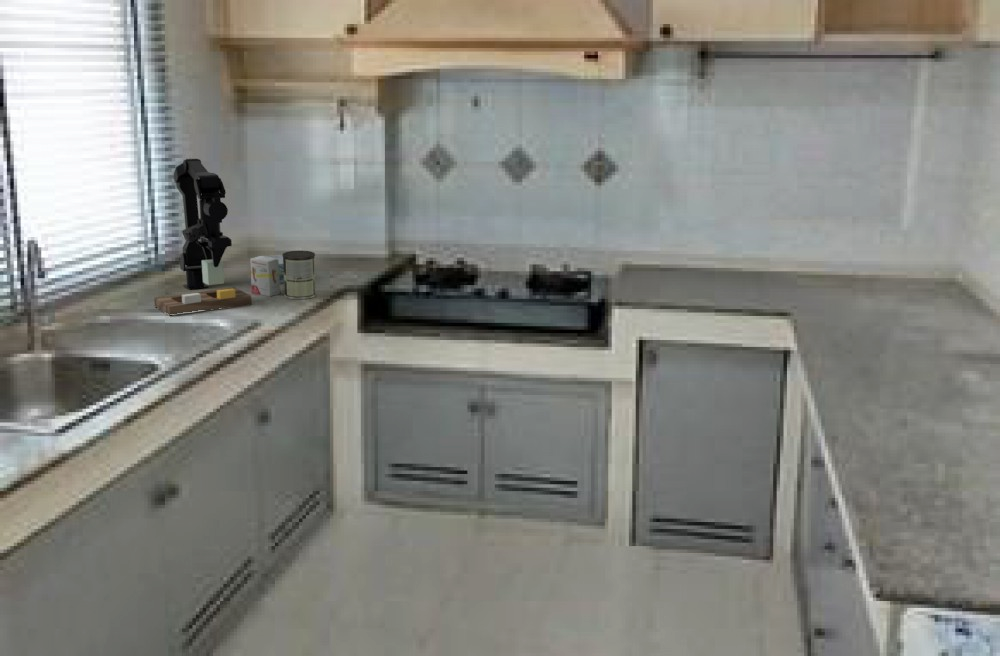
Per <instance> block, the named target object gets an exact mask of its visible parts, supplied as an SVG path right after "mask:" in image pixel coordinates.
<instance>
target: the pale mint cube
mask: <svg viewBox="0 0 1000 656" xmlns="http://www.w3.org/2000/svg"><path fill="white" fill-rule="evenodd" d="M224 271H225V270H224V261H223V260H222V259H221V260H220V263H219V265H218V267H214V264H213V260H212V259H210V260H202V275H203V283H204V284H205V285H207V286H215V285H221V284H225V273H224Z"/></svg>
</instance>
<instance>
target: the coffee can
mask: <svg viewBox="0 0 1000 656" xmlns="http://www.w3.org/2000/svg"><path fill="white" fill-rule="evenodd" d="M282 256H283V270H284V282H283V288H284V291H283V292H284V298H286V299H288V300H298V299H299V300H308V299H312V298H315V297H316V296H317V294H316V291H317V290H316V261H315V256H316V253H315V252H313V251H309V250H289V251H285V252H283V253H282Z"/></svg>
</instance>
